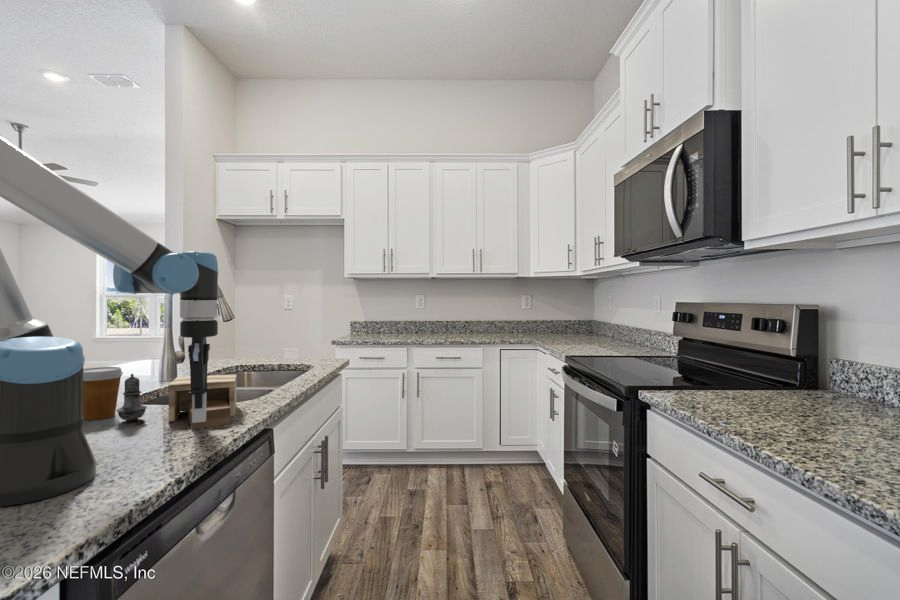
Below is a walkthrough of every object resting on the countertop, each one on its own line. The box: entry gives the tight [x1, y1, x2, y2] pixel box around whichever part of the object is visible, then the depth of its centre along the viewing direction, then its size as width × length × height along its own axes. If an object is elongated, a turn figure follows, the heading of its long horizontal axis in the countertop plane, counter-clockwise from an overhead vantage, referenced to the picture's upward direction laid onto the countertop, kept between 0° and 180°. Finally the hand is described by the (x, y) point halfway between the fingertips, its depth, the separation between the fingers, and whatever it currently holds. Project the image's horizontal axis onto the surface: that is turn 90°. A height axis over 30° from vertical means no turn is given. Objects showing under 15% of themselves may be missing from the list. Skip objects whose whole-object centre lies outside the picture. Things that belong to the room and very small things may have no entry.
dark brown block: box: [187, 398, 231, 430], centre depth 108 cm, size 12×8×4 cm, turn 34°
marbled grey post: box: [116, 373, 148, 427], centre depth 105 cm, size 6×6×12 cm
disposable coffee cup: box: [83, 366, 124, 421], centre depth 110 cm, size 10×10×12 cm
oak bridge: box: [168, 373, 238, 423], centre depth 114 cm, size 11×14×9 cm
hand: (199, 421), depth 101 cm, fingers closed
